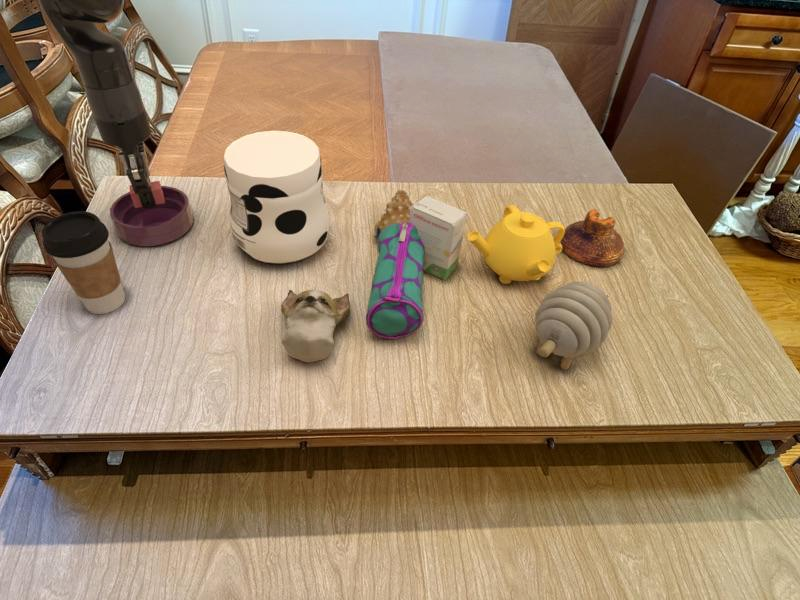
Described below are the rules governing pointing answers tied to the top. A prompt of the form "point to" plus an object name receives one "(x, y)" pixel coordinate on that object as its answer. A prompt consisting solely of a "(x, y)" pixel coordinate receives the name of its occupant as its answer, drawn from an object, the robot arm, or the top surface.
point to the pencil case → (397, 283)
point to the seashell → (395, 211)
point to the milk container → (276, 196)
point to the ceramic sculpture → (312, 323)
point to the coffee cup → (85, 259)
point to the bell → (593, 241)
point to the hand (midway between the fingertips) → (148, 201)
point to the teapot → (519, 246)
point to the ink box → (439, 234)
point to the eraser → (155, 190)
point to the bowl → (152, 219)
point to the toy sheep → (572, 321)
